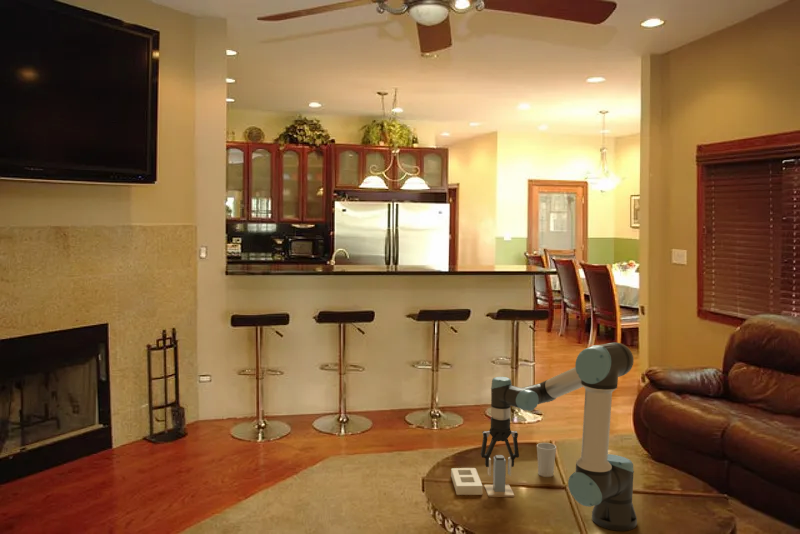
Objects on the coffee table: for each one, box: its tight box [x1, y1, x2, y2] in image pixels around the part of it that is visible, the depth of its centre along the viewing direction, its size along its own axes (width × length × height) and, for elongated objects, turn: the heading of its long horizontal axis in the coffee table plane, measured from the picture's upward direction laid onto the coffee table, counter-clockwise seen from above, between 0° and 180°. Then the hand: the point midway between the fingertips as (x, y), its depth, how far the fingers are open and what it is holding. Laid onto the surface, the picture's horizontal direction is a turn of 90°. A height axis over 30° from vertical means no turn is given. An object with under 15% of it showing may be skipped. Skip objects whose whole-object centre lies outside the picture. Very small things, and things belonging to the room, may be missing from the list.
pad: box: [483, 484, 515, 498], centre depth 255 cm, size 10×10×1 cm
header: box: [450, 467, 484, 496], centre depth 260 cm, size 18×10×4 cm, turn 2°
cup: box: [536, 442, 557, 478], centre depth 272 cm, size 8×8×12 cm
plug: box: [492, 454, 507, 492], centre depth 255 cm, size 4×4×13 cm
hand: (499, 474), depth 255 cm, fingers open, 7 cm apart
